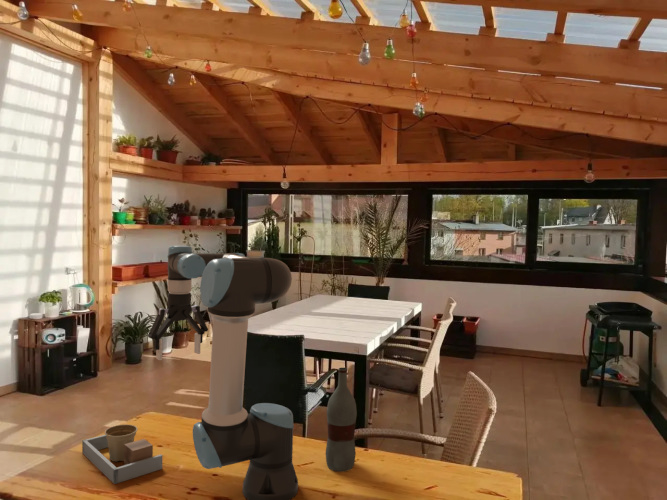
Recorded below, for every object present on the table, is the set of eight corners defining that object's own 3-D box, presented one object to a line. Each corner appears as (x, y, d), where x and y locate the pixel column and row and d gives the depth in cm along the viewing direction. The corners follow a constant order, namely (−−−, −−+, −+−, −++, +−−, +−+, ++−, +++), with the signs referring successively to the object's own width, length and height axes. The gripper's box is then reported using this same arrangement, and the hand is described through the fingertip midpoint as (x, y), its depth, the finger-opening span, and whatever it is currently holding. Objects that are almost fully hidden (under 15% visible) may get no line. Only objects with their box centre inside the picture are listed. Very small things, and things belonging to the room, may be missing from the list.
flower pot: (142, 451, 163) (142, 425, 163) (128, 465, 154) (128, 437, 153) (114, 450, 164) (114, 423, 163) (98, 463, 154) (98, 435, 154)
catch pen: (162, 468, 152) (162, 455, 152) (114, 484, 142) (114, 470, 142) (126, 440, 171) (127, 429, 171) (82, 452, 161) (82, 440, 161)
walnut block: (152, 468, 152) (152, 445, 152) (132, 474, 148) (132, 450, 148) (143, 461, 157) (143, 438, 156) (124, 467, 152) (124, 444, 152)
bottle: (339, 456, 164) (342, 362, 162) (361, 465, 157) (364, 368, 156) (318, 465, 157) (321, 368, 156) (340, 475, 150) (343, 374, 149)
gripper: (207, 288, 181) (206, 348, 182) (137, 293, 163) (136, 359, 164) (218, 291, 175) (217, 352, 176) (147, 296, 158) (147, 364, 159)
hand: (178, 356), depth 170 cm, fingers open, 13 cm apart
